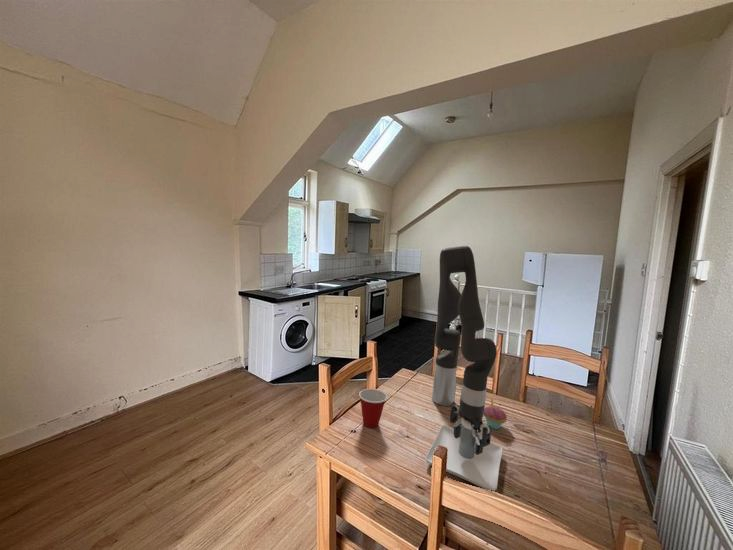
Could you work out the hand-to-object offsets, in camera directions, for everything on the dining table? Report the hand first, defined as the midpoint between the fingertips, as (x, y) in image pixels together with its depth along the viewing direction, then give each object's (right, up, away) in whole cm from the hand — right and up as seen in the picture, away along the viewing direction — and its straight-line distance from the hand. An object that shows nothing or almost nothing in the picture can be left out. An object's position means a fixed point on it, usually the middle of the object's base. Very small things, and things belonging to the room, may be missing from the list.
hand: (467, 445), depth 96 cm
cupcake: (+18, -4, +21) cm, 28 cm away
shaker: (0, -3, 0) cm, 3 cm away
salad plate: (-1, -6, +1) cm, 6 cm away
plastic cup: (-31, -2, +17) cm, 35 cm away
